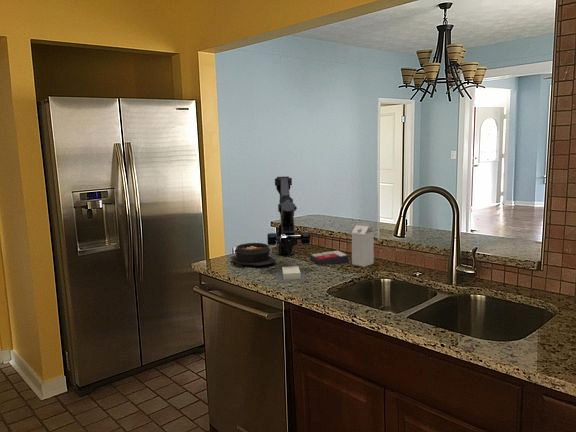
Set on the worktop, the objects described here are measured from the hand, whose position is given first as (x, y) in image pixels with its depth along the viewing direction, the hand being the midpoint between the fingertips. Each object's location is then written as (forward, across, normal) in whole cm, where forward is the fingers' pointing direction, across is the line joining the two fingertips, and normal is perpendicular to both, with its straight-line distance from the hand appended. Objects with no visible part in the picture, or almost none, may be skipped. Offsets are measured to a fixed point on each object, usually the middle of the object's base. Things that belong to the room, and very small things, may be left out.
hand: (290, 254), depth 204 cm
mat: (+7, 0, -5) cm, 9 cm away
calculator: (-7, -20, -20) cm, 29 cm away
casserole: (-10, +16, -22) cm, 29 cm away
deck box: (+4, 0, -6) cm, 7 cm away
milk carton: (-2, -34, -15) cm, 37 cm away
